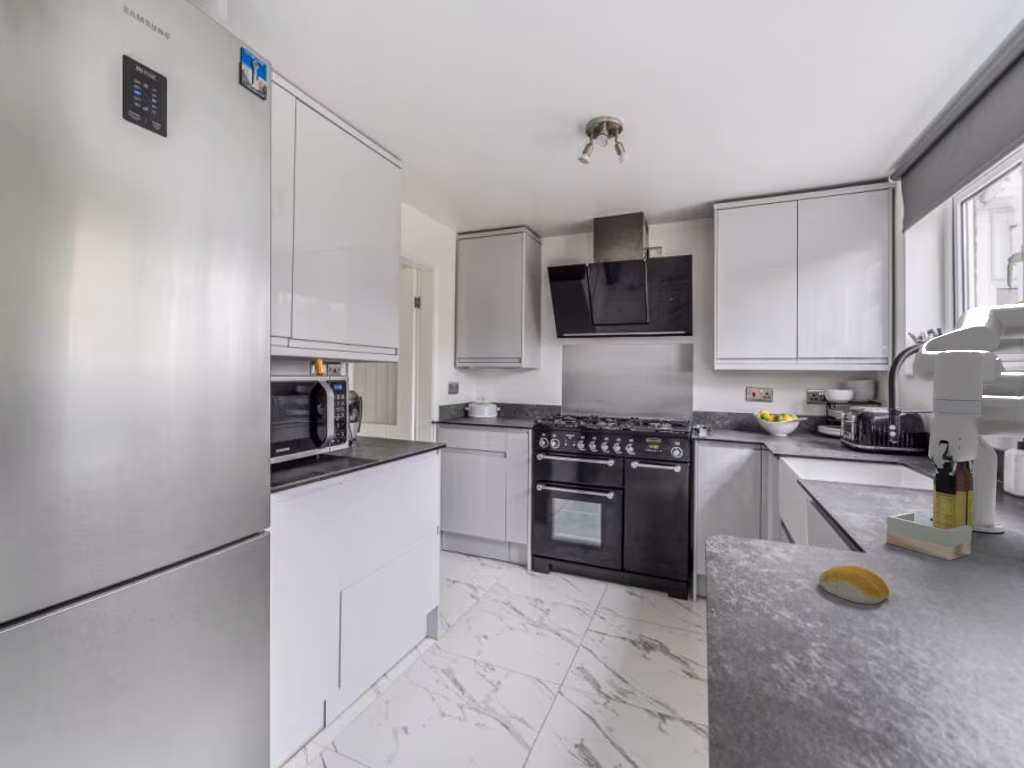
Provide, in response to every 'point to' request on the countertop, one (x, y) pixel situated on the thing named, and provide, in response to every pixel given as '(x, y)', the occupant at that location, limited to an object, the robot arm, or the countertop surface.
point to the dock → (928, 537)
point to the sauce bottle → (955, 502)
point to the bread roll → (854, 584)
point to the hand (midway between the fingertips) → (953, 490)
